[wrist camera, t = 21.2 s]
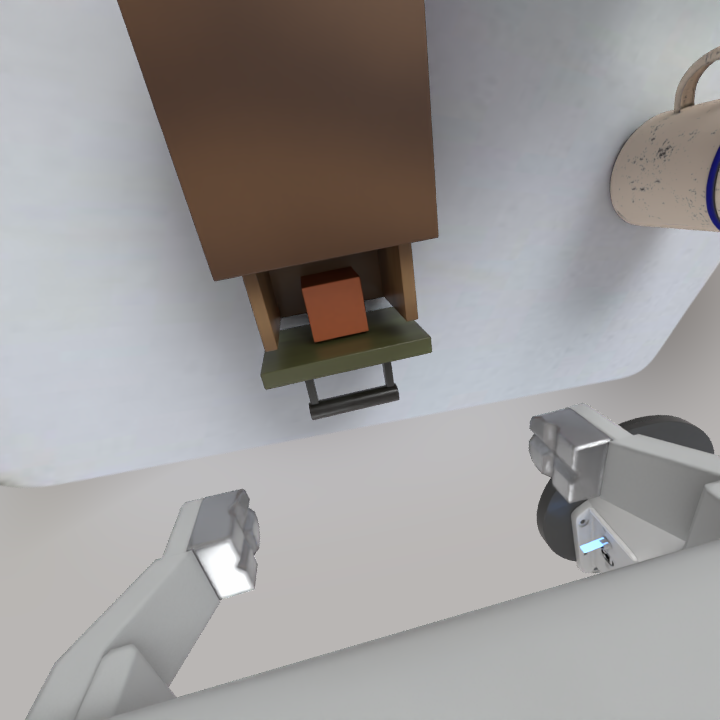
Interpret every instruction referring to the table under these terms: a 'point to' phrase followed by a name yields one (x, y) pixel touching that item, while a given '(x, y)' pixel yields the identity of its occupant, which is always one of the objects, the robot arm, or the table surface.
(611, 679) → the robot arm
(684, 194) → the teacup with lid
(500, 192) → the table surface
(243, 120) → the cabinet
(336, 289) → the block
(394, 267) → the drawer
